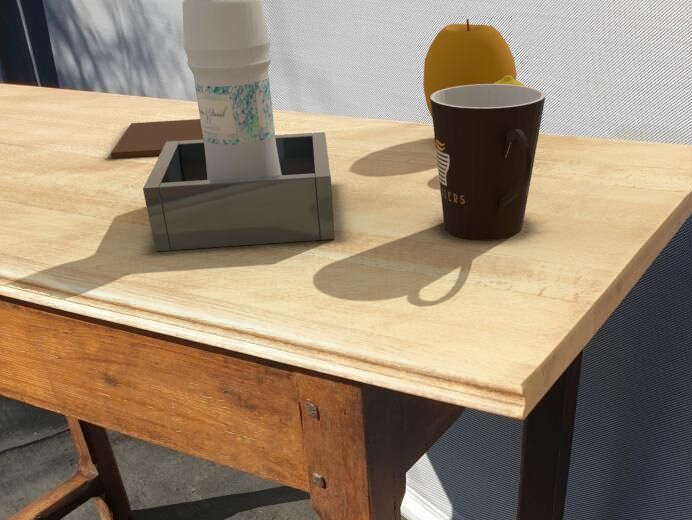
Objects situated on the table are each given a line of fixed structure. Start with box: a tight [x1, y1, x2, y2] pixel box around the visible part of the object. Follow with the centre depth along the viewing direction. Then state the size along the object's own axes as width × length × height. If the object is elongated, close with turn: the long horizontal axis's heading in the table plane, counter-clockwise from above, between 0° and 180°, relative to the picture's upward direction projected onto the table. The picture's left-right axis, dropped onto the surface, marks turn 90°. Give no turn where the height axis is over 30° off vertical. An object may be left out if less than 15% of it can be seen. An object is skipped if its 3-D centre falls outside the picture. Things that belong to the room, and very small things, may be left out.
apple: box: [422, 18, 518, 117], centre depth 88 cm, size 10×10×12 cm
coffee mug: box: [430, 84, 546, 241], centre depth 64 cm, size 12×9×10 cm
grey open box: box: [142, 131, 336, 252], centre depth 71 cm, size 14×14×5 cm
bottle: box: [181, 0, 281, 180], centre depth 67 cm, size 7×7×20 cm
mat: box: [110, 118, 203, 159], centre depth 96 cm, size 14×14×1 cm
